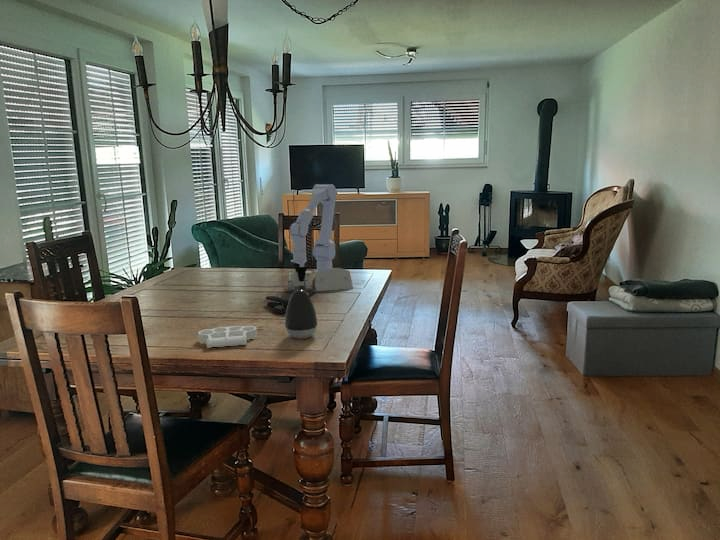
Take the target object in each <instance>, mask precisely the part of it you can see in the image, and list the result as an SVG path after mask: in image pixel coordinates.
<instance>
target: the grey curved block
mask: <svg viewBox="0 0 720 540" xmlns="http://www.w3.org/2000/svg"><path fill="white" fill-rule="evenodd" d="M353 286H354V285H353V280H352V275H351V272H350V270H349V269H345V268H340V267H332V268H328V269H324V270H321V271H318V272H317V271H316V272H315V274H314V288H313V290H315V291H316V292H325V291H328V290H329V291H339V289H344V290H353V289H354V287H353ZM352 288H353V289H352Z"/></svg>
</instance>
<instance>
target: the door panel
mask: <svg viewBox="0 0 720 540" xmlns="http://www.w3.org/2000/svg"><path fill="white" fill-rule="evenodd" d="M288 276H289V280H293V282H294V286H304V281H302V282H300V281H299V278H298V273H297V272H296V271H293V272H289V273H288ZM305 279H309V281H310V285H311V286H313V284H314V283H313V272H312V271H311V270H309V271H308V270H306V273H305Z"/></svg>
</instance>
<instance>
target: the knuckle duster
mask: <svg viewBox="0 0 720 540" xmlns="http://www.w3.org/2000/svg"><path fill="white" fill-rule="evenodd" d="M257 329H258V328H257V326H253V325H245V326H244V325H243V326H242V325H231V326H219V327H215V328H209V329H201V330H199V331H198V332H197V338H198V340H197V341H198V342H199V341H201V342H207V344H206V348H207V349H208V348H211V347H219V348H225V347H224V346H231V347H239V346H238V345H242V346H244V345H245V346H247V345H248V341H247V340H248V339H253V338H255V337H257V338H258V331H257ZM255 339H256V338H255ZM253 340H254V339H253ZM211 349H212V348H211Z"/></svg>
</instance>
